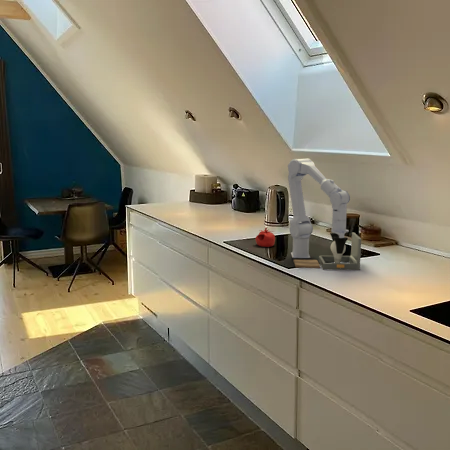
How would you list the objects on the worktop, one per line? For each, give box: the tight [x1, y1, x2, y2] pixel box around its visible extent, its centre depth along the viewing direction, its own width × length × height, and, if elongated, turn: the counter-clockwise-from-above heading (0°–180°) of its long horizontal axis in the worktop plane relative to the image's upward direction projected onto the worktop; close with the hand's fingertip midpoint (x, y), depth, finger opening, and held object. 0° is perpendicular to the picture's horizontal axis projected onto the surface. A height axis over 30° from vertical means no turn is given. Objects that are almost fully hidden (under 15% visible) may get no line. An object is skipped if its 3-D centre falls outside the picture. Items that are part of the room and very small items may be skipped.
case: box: [318, 232, 362, 271], centre depth 229 cm, size 14×15×13 cm
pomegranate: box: [255, 227, 276, 248], centre depth 268 cm, size 10×10×9 cm
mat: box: [293, 259, 321, 269], centre depth 232 cm, size 10×10×1 cm
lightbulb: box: [330, 241, 347, 263], centre depth 230 cm, size 6×6×11 cm
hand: (338, 251), depth 230 cm, fingers open, 7 cm apart
